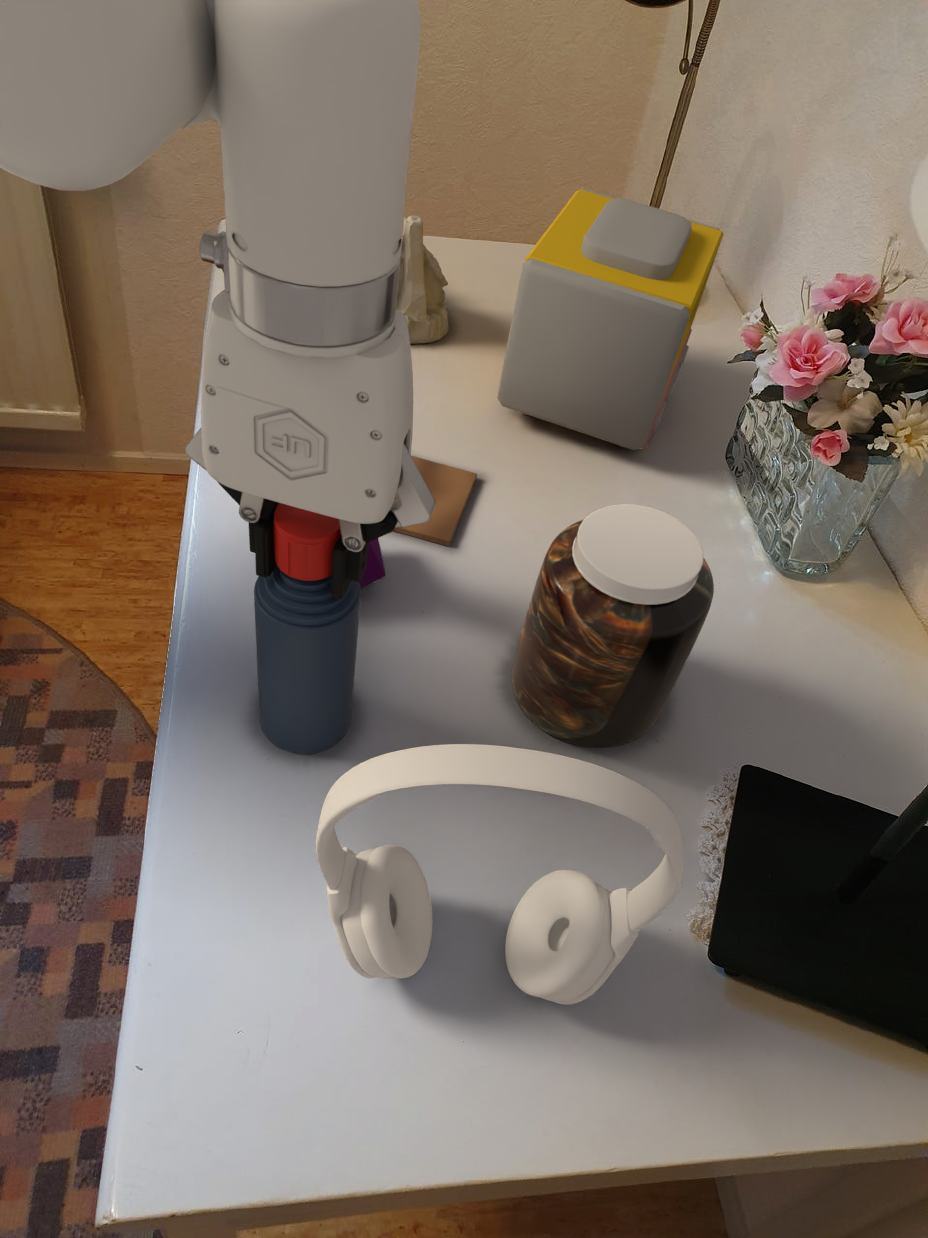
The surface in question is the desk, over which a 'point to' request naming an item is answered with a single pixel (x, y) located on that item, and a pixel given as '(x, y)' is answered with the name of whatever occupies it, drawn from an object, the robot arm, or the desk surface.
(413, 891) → the headphones
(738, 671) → the desk surface
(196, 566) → the desk surface
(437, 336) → the beige rough towered piece
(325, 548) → the cap
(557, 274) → the alarm clock
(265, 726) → the water bottle
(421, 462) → the coaster
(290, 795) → the desk surface
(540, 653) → the jar
